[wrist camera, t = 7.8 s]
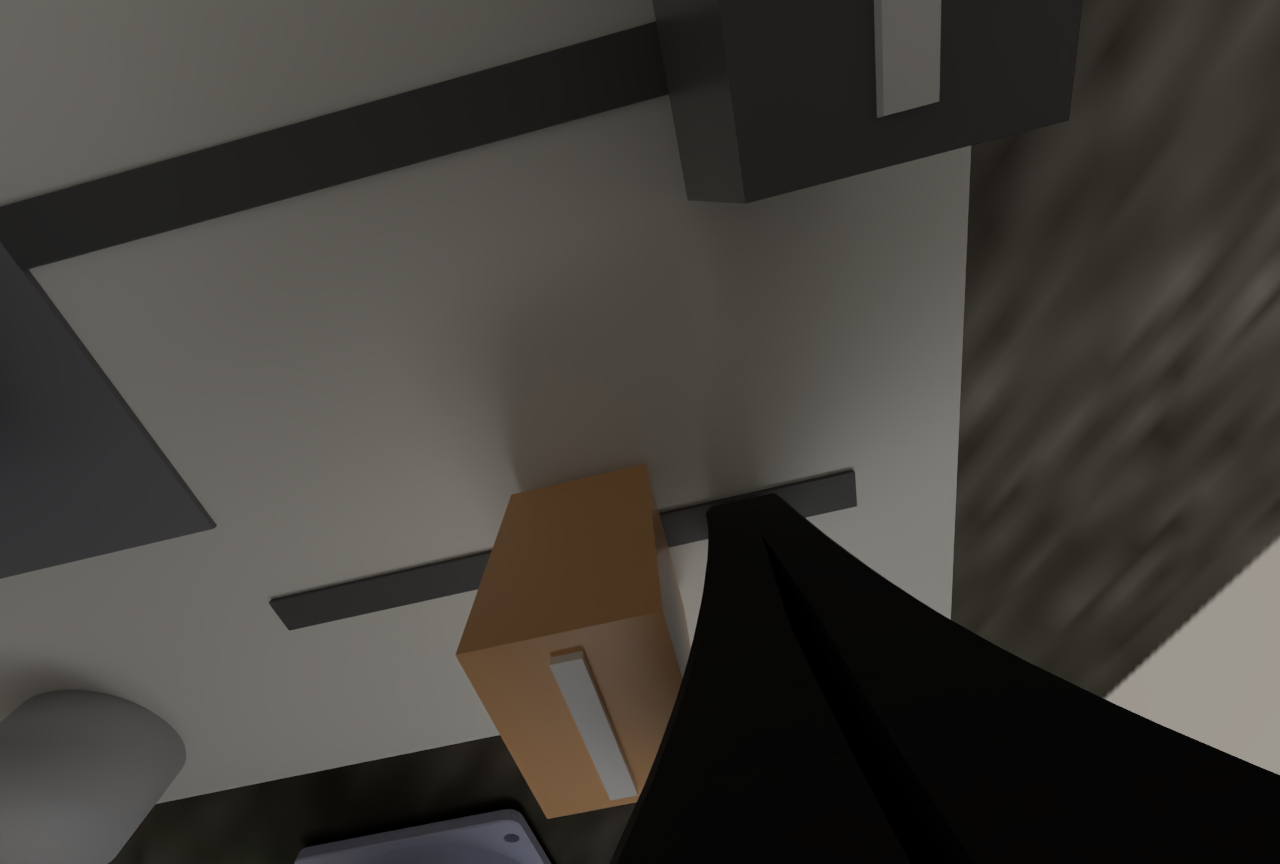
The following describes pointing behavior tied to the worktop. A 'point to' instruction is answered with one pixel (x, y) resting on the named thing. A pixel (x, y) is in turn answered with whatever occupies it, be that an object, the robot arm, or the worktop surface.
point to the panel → (396, 369)
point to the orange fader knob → (580, 639)
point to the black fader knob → (854, 84)
